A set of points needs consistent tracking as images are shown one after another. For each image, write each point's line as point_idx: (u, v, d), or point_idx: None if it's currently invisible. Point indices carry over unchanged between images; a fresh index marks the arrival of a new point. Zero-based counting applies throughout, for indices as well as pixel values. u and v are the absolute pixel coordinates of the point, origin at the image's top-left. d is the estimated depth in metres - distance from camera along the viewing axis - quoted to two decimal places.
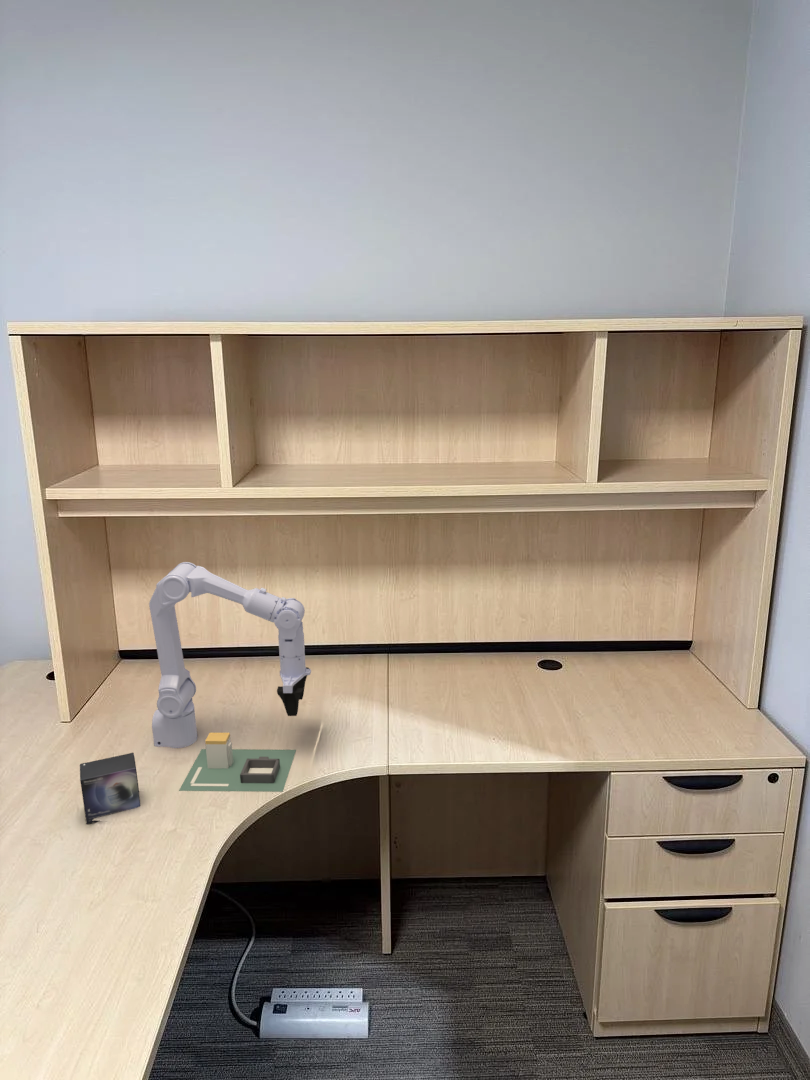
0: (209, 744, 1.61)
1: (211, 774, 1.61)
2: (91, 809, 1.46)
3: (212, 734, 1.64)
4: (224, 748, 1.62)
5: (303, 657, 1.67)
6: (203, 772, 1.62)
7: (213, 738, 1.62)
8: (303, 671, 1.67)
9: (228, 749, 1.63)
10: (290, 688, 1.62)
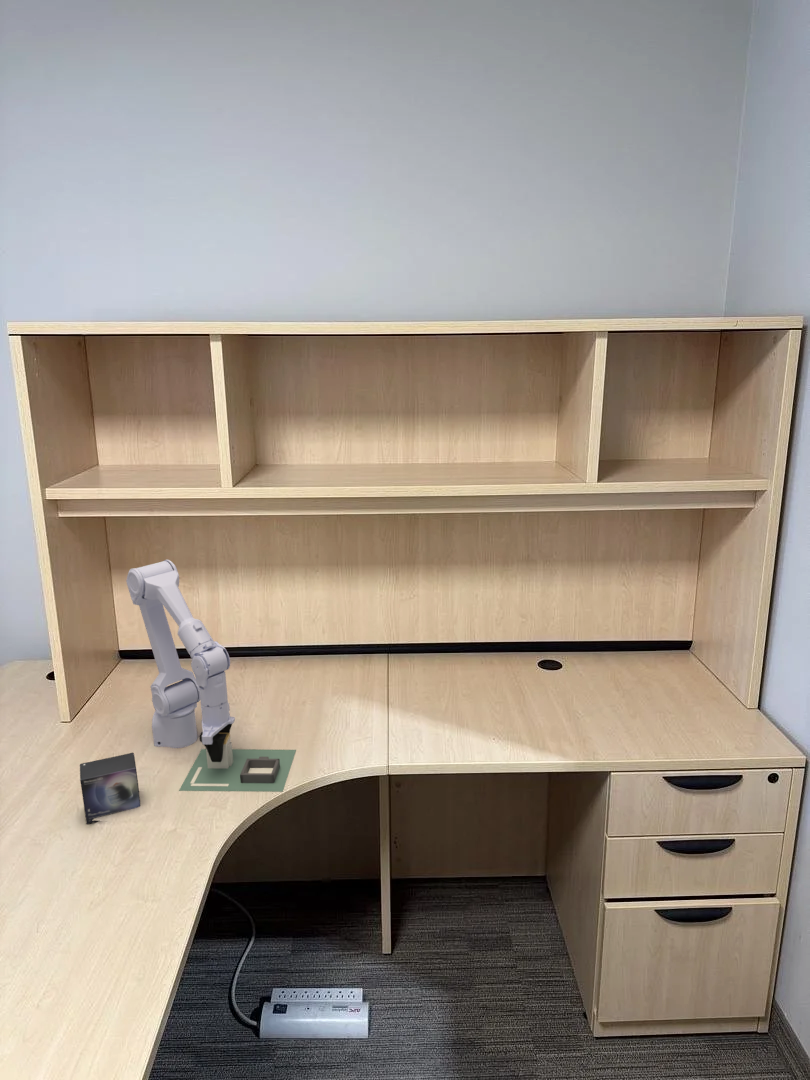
0: None
1: (211, 774, 1.61)
2: (91, 809, 1.46)
3: None
4: (224, 748, 1.62)
5: (225, 705, 1.60)
6: (203, 772, 1.62)
7: None
8: (226, 720, 1.60)
9: (228, 749, 1.63)
10: (209, 739, 1.55)
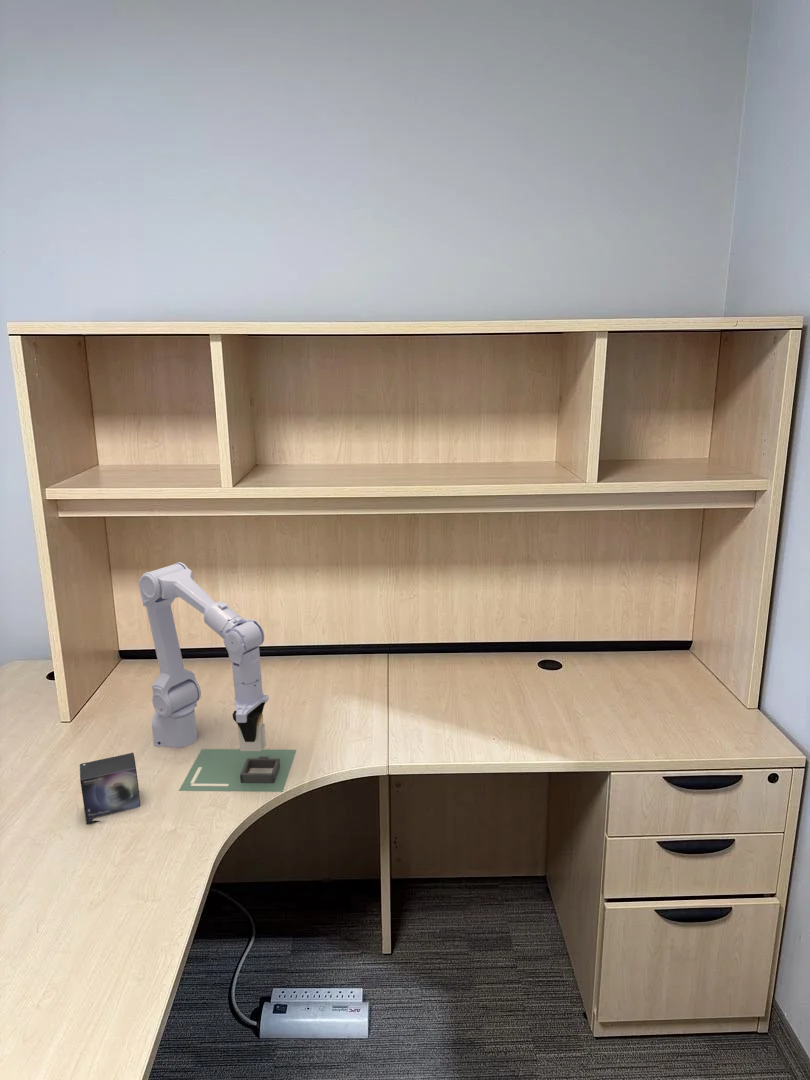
0: None
1: (211, 774, 1.61)
2: (91, 809, 1.46)
3: None
4: (257, 730, 1.56)
5: (259, 683, 1.54)
6: (203, 772, 1.62)
7: None
8: (259, 698, 1.55)
9: (261, 731, 1.57)
10: (243, 717, 1.49)
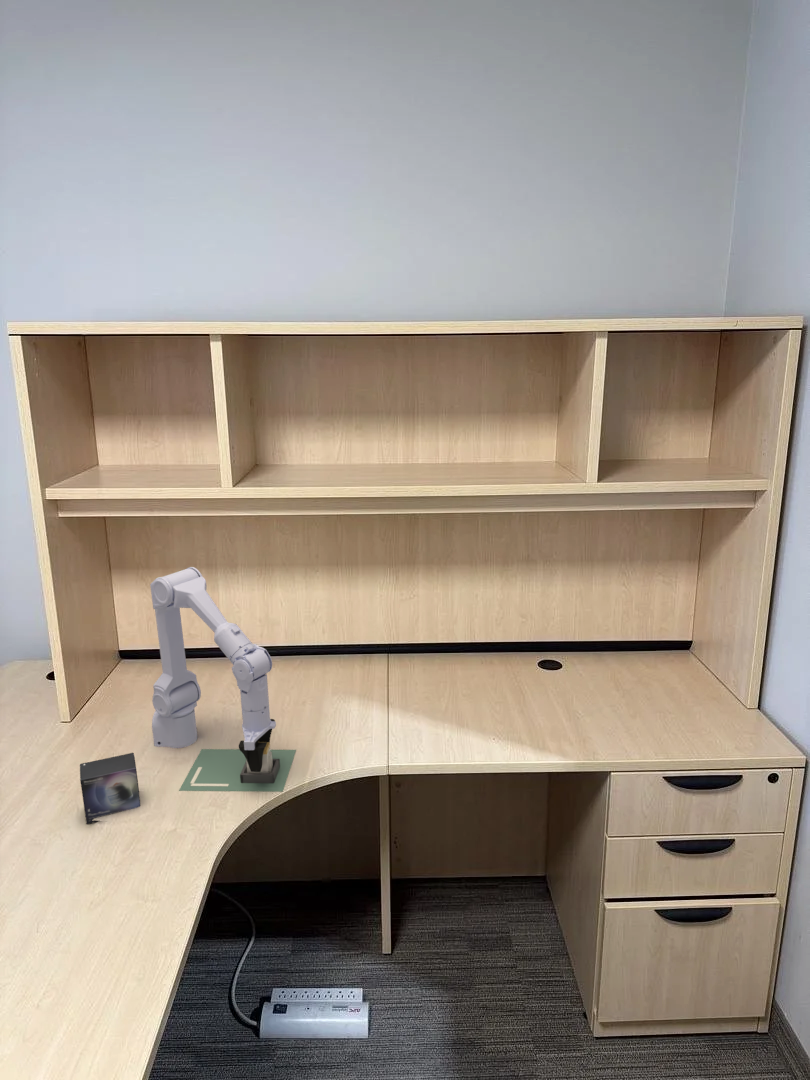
0: None
1: (211, 774, 1.61)
2: (91, 809, 1.46)
3: None
4: (265, 758, 1.57)
5: (267, 710, 1.55)
6: (203, 772, 1.62)
7: None
8: (267, 724, 1.56)
9: (269, 759, 1.58)
10: (252, 745, 1.50)
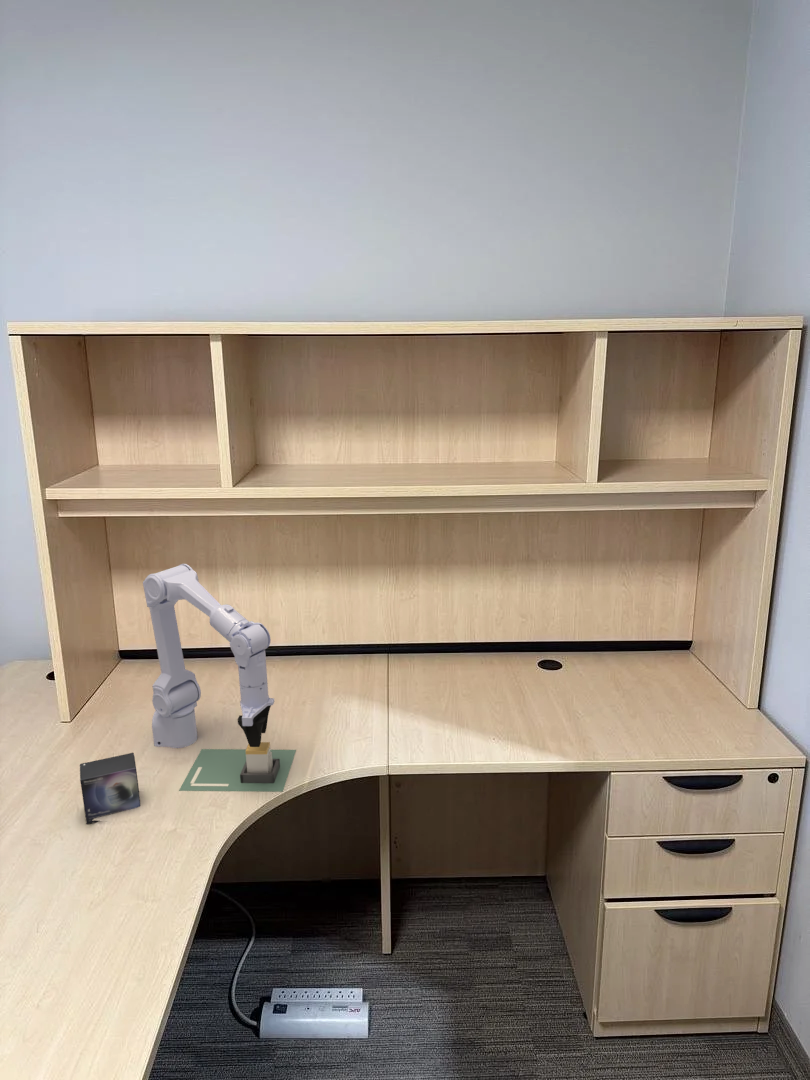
0: (250, 754, 1.57)
1: (211, 774, 1.61)
2: (91, 809, 1.46)
3: None
4: (265, 758, 1.57)
5: (265, 686, 1.54)
6: (203, 772, 1.62)
7: (253, 748, 1.58)
8: (265, 701, 1.54)
9: (269, 759, 1.58)
10: (250, 720, 1.49)
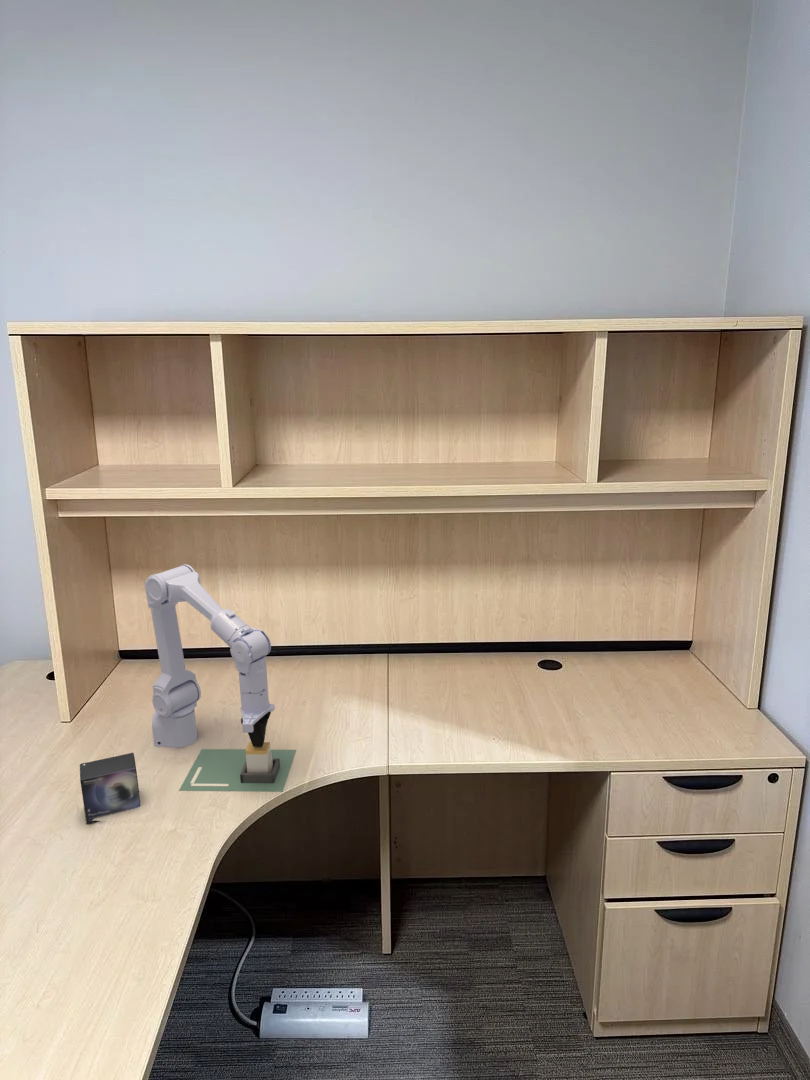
0: (250, 754, 1.57)
1: (211, 774, 1.61)
2: (91, 809, 1.46)
3: None
4: (265, 758, 1.57)
5: (266, 692, 1.54)
6: (203, 772, 1.62)
7: (253, 748, 1.58)
8: (266, 707, 1.55)
9: (269, 759, 1.58)
10: (250, 727, 1.49)
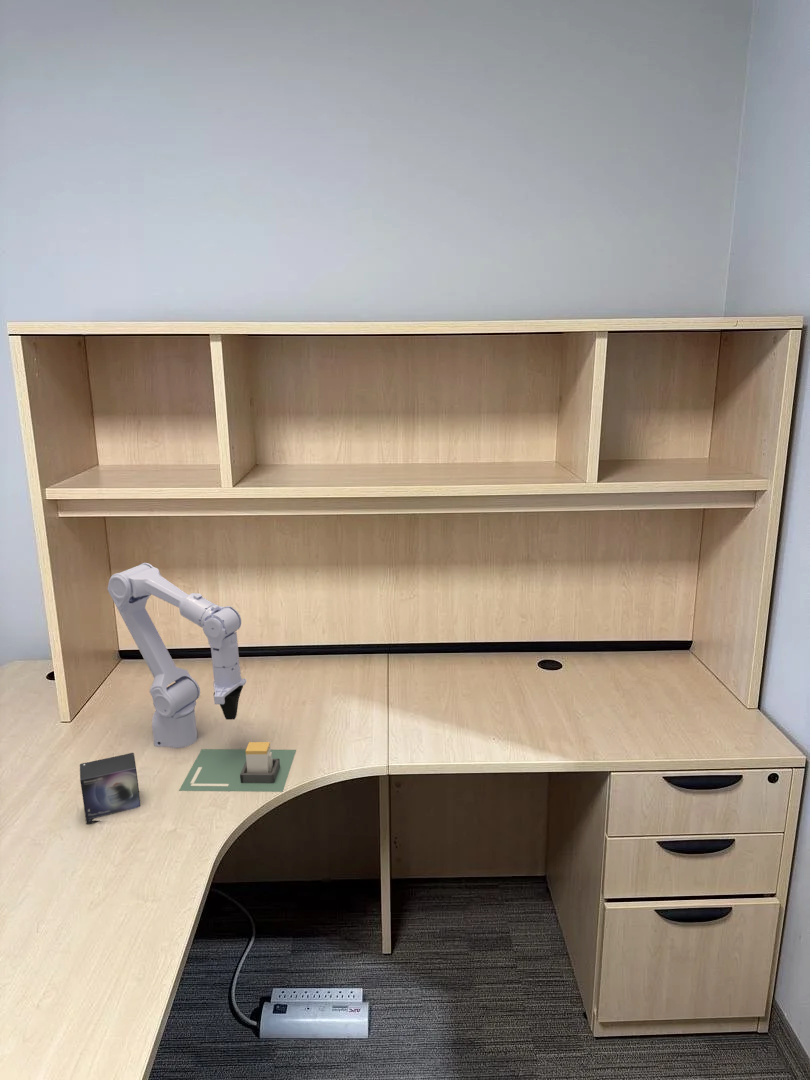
0: (250, 754, 1.57)
1: (211, 774, 1.61)
2: (91, 809, 1.46)
3: (252, 744, 1.60)
4: (265, 758, 1.57)
5: (237, 667, 1.61)
6: (203, 772, 1.62)
7: (253, 748, 1.58)
8: (237, 681, 1.62)
9: (269, 759, 1.58)
10: (221, 699, 1.57)
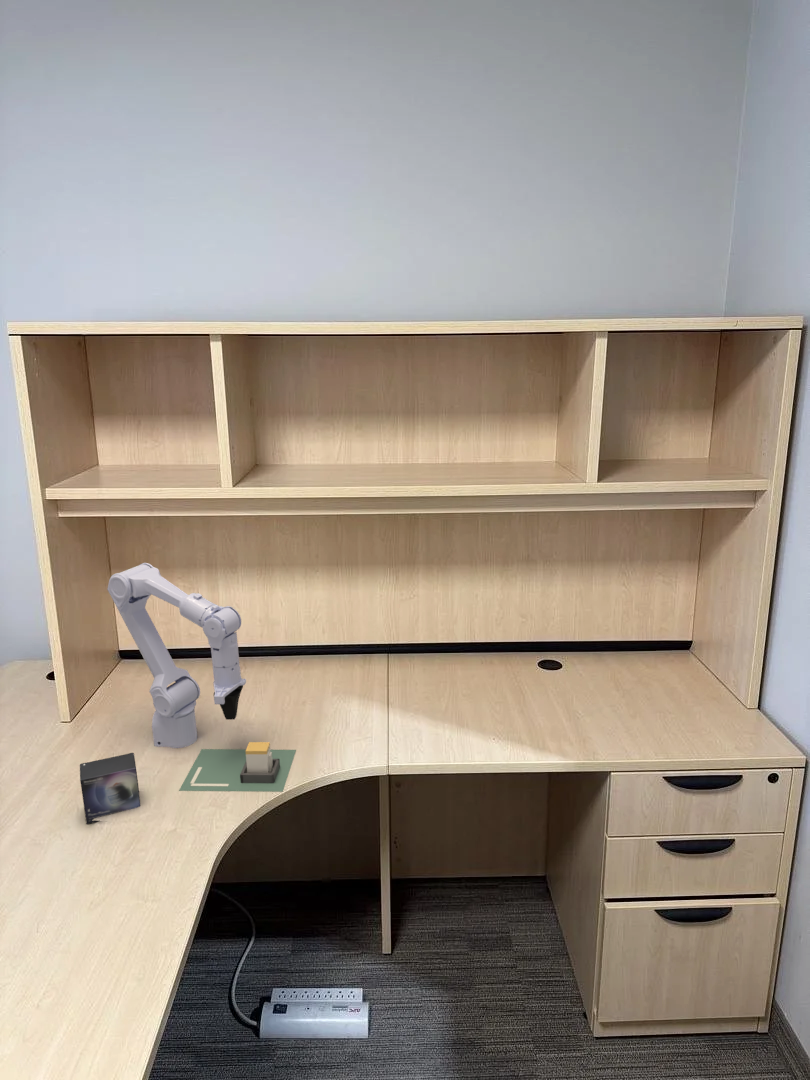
0: (250, 754, 1.57)
1: (211, 774, 1.61)
2: (91, 809, 1.46)
3: (252, 744, 1.60)
4: (265, 758, 1.57)
5: (237, 667, 1.61)
6: (203, 772, 1.62)
7: (253, 748, 1.58)
8: (237, 681, 1.62)
9: (269, 759, 1.58)
10: (221, 699, 1.57)
